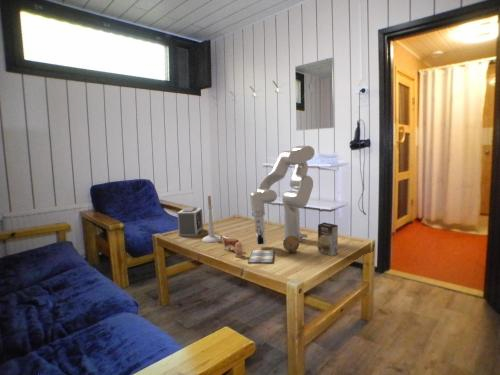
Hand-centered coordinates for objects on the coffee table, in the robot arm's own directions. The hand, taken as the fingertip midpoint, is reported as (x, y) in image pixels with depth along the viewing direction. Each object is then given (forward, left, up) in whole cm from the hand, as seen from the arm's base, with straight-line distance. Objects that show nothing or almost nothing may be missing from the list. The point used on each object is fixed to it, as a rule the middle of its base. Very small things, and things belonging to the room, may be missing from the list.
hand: (261, 241), depth 182 cm
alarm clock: (+54, -34, -4) cm, 64 cm away
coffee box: (-38, +9, -4) cm, 39 cm away
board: (-2, +16, -4) cm, 17 cm away
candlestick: (+34, -16, -4) cm, 38 cm away
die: (0, 0, -1) cm, 1 cm away
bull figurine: (+18, +4, -4) cm, 19 cm away
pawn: (+11, +14, -4) cm, 18 cm away
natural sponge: (-18, +9, -4) cm, 20 cm away
